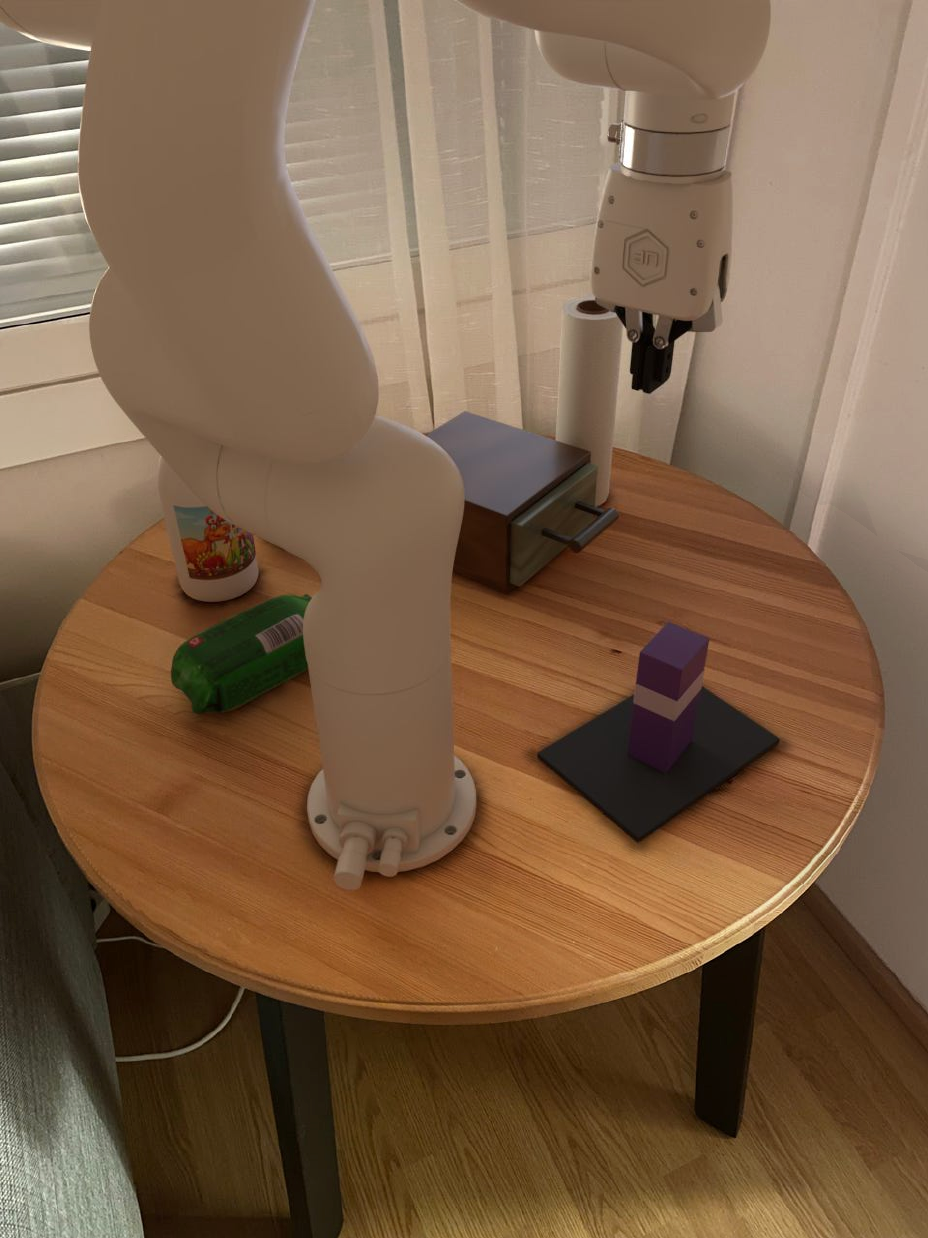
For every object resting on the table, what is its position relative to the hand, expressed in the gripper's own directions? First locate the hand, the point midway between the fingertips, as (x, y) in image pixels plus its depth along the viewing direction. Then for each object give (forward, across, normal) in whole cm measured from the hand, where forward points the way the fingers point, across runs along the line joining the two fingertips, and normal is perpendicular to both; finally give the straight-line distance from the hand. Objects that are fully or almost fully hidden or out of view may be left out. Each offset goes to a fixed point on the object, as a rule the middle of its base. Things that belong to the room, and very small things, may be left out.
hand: (648, 385), depth 84 cm
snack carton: (+20, +13, -18) cm, 30 cm away
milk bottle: (+21, -33, -22) cm, 45 cm away
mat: (+21, +13, -18) cm, 30 cm away
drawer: (+20, -13, 0) cm, 24 cm away
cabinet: (+21, -17, 0) cm, 27 cm away
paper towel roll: (+21, -13, +13) cm, 28 cm away
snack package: (+21, -20, -29) cm, 41 cm away
